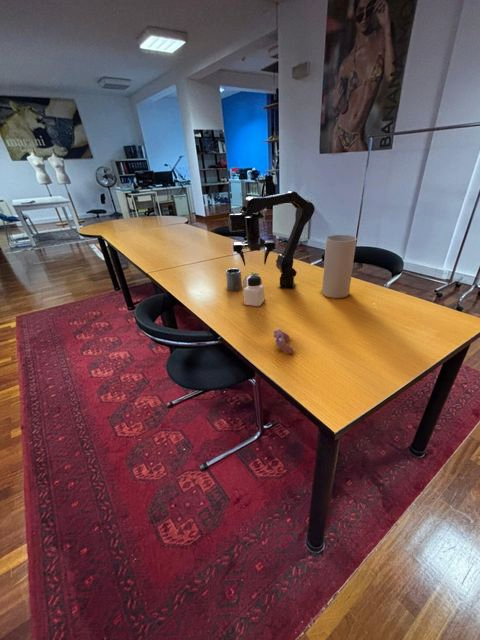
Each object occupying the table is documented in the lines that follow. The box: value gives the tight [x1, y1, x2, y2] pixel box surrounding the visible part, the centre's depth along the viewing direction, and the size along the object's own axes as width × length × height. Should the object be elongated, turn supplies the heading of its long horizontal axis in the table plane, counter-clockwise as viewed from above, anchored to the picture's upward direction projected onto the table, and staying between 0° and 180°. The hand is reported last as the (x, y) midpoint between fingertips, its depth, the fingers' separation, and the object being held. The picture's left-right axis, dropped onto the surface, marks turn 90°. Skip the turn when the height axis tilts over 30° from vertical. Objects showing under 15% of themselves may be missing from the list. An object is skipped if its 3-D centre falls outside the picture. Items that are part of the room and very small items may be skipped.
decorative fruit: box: [242, 272, 263, 289], centre depth 140 cm, size 9×8×10 cm
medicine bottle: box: [243, 275, 265, 307], centre depth 129 cm, size 7×7×12 cm
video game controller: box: [272, 329, 294, 355], centre depth 99 cm, size 10×5×7 cm, turn 5°
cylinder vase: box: [321, 234, 358, 299], centre depth 132 cm, size 12×12×25 cm
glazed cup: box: [225, 267, 243, 292], centre depth 145 cm, size 7×7×9 cm
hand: (254, 265), depth 137 cm, fingers open, 9 cm apart
